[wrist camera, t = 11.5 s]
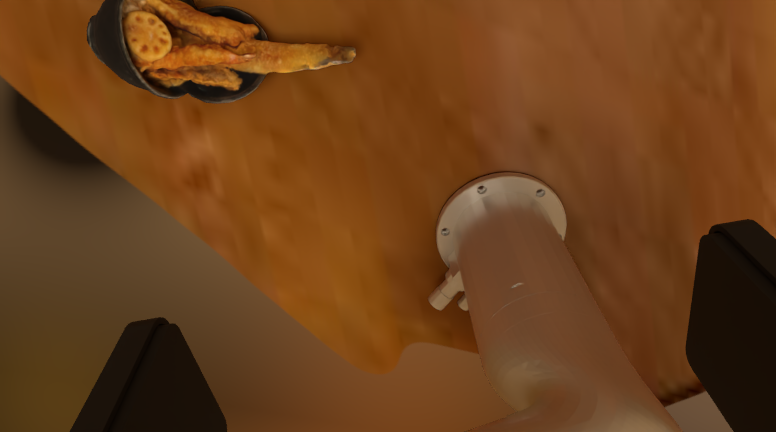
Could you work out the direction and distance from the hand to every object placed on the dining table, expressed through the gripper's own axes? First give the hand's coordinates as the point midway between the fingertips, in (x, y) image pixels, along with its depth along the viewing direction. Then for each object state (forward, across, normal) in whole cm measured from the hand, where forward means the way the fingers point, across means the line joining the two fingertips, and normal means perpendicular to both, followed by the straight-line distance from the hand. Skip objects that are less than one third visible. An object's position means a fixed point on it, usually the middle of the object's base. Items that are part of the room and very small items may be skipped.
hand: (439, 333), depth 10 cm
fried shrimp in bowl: (+39, +13, +1) cm, 41 cm away
